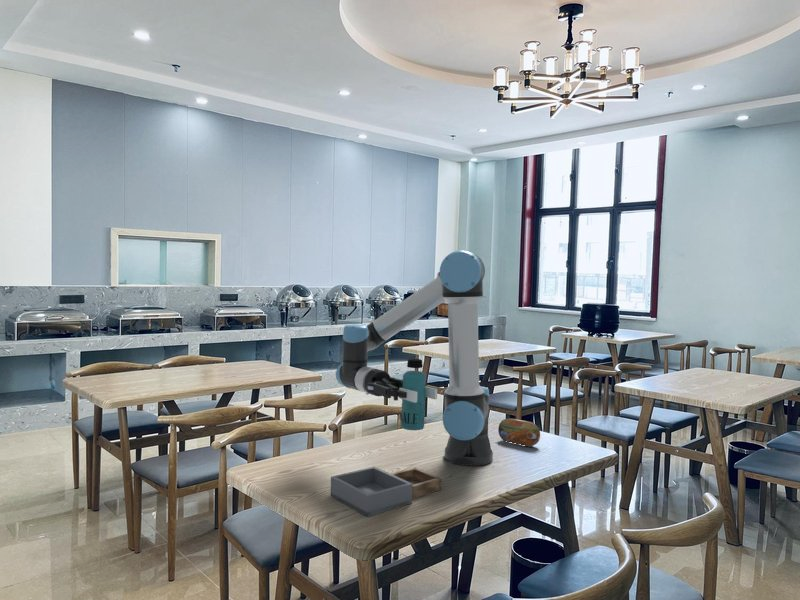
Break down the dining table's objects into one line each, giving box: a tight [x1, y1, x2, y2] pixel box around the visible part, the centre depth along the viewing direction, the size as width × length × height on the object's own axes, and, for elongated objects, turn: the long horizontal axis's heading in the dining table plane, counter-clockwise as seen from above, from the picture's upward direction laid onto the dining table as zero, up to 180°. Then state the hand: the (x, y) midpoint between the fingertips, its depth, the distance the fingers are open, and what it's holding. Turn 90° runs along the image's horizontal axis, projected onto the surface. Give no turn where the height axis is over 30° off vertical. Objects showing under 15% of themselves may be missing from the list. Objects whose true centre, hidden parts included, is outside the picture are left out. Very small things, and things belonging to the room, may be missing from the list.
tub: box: [329, 466, 414, 518], centre depth 148 cm, size 14×16×5 cm
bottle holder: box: [390, 466, 443, 499], centre depth 157 cm, size 11×11×3 cm
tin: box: [498, 418, 541, 448], centre depth 201 cm, size 15×3×8 cm, turn 50°
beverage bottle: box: [400, 358, 427, 431], centre depth 156 cm, size 6×7×20 cm
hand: (426, 395), depth 152 cm, fingers closed on beverage bottle, 6 cm apart
